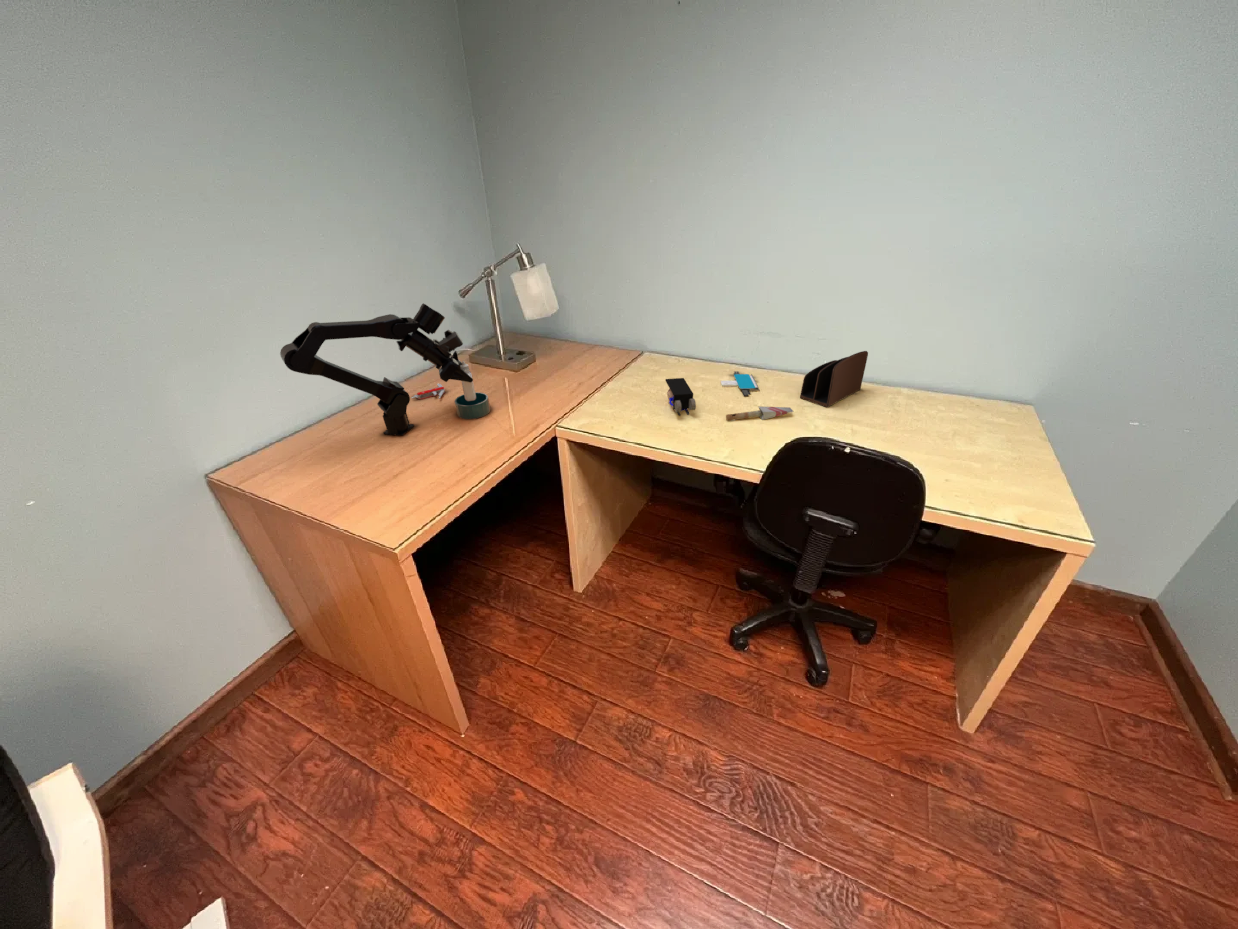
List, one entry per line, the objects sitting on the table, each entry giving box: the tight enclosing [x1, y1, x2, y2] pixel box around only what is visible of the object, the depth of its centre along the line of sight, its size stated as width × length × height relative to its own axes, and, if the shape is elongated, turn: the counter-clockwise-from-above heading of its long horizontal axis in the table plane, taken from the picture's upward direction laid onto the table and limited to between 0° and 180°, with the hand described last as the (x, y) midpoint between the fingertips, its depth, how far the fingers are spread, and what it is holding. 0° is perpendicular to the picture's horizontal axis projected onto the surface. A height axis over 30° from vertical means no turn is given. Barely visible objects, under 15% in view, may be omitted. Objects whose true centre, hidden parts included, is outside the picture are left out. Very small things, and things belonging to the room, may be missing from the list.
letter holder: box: [799, 350, 869, 408], centre depth 155 cm, size 10×20×14 cm, turn 130°
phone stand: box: [719, 370, 761, 398], centre depth 167 cm, size 20×12×2 cm, turn 178°
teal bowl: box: [454, 391, 491, 420], centre depth 155 cm, size 10×10×4 cm
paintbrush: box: [725, 405, 794, 422], centre depth 146 cm, size 4×3×20 cm
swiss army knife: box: [410, 383, 446, 400], centre depth 167 cm, size 12×14×2 cm
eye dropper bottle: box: [460, 360, 476, 401], centre depth 150 cm, size 4×6×12 cm
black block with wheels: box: [665, 377, 697, 417], centre depth 152 cm, size 7×8×15 cm
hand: (471, 377), depth 150 cm, fingers closed on eye dropper bottle, 5 cm apart
